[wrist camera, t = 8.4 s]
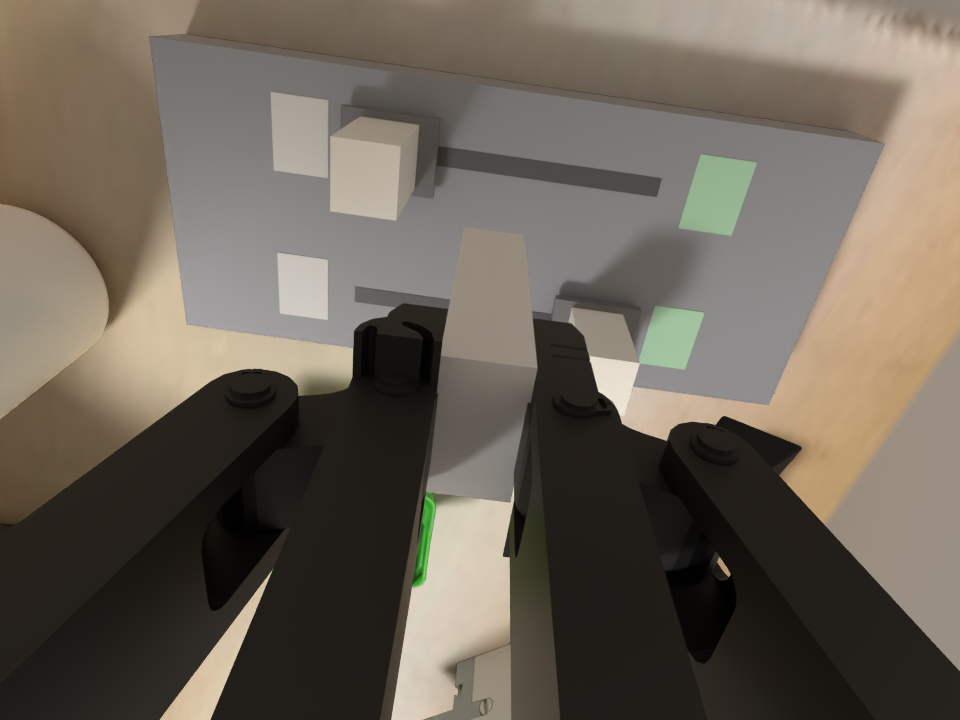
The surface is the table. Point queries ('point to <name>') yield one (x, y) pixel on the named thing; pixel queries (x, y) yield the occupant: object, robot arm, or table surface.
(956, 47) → the table surface
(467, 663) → the circuit breaker
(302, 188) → the gray slotted slider panel
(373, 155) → the block
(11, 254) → the mug
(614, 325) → the breaker handle
